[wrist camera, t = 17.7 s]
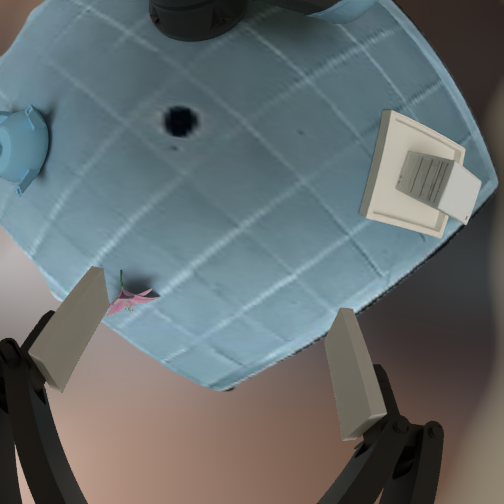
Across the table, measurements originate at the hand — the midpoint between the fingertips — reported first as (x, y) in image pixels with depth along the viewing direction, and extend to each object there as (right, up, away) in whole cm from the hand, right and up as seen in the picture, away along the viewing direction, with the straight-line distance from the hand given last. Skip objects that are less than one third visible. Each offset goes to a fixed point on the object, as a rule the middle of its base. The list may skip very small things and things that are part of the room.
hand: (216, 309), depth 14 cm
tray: (+30, +16, +26) cm, 43 cm away
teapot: (-40, +24, +21) cm, 51 cm away
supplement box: (+30, +16, +25) cm, 42 cm away
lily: (-20, -4, +34) cm, 40 cm away
